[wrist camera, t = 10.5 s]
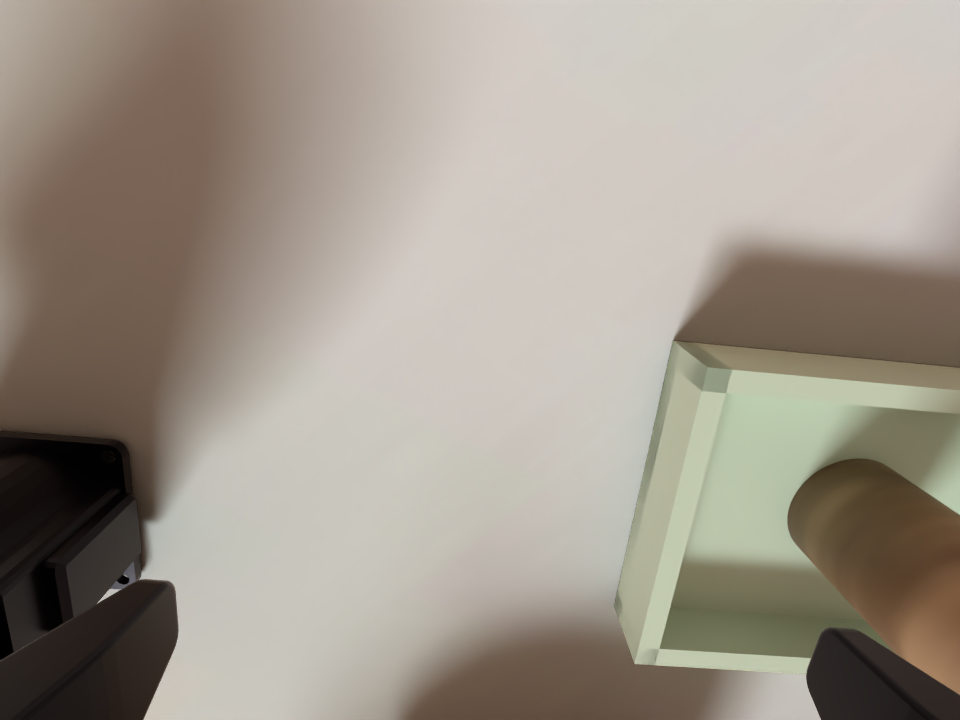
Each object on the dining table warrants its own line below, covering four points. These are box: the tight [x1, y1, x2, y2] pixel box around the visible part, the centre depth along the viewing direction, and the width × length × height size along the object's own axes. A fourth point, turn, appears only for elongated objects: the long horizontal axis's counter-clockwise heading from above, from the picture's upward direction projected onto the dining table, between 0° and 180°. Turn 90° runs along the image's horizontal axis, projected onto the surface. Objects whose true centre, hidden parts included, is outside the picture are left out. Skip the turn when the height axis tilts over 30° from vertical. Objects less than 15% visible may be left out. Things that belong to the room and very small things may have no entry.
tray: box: [614, 341, 960, 674], centre depth 21 cm, size 14×12×3 cm
